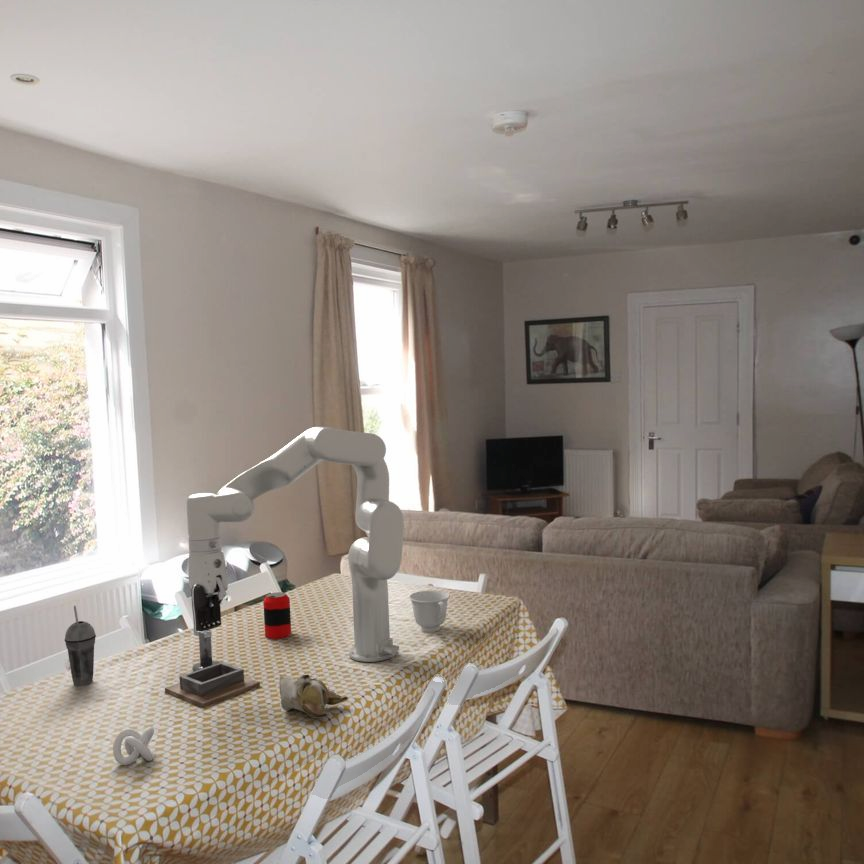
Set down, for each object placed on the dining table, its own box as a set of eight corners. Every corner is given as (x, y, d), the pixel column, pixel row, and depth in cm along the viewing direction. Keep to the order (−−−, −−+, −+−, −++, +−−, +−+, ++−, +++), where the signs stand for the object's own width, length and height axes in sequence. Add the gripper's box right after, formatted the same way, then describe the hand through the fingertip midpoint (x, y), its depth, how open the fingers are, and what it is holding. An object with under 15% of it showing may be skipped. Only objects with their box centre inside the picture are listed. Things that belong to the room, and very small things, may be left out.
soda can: (259, 637, 231) (257, 597, 230) (274, 630, 238) (272, 590, 237) (282, 640, 228) (280, 599, 227) (296, 632, 235) (294, 592, 234)
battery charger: (202, 633, 188) (199, 586, 187) (192, 631, 190) (189, 584, 189) (226, 625, 193) (223, 579, 193) (216, 623, 195) (213, 577, 195)
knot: (134, 748, 162) (132, 720, 162) (167, 752, 160) (166, 723, 160) (109, 765, 155) (107, 736, 155) (143, 769, 153) (142, 740, 152)
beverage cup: (105, 678, 202) (100, 601, 201) (84, 689, 195) (78, 609, 194) (82, 676, 204) (77, 599, 203) (60, 686, 198) (55, 607, 196)
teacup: (426, 641, 223) (424, 606, 222) (403, 627, 236) (402, 594, 235) (463, 633, 228) (462, 599, 228) (439, 620, 242) (438, 588, 241)
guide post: (226, 668, 207) (224, 630, 206) (202, 676, 201) (200, 637, 201) (210, 662, 211) (208, 625, 211) (187, 670, 206) (185, 632, 205)
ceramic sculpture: (292, 661, 185) (349, 672, 179) (292, 697, 185) (349, 709, 180) (266, 678, 175) (326, 690, 169) (266, 716, 176) (325, 729, 170)
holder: (259, 685, 193) (259, 669, 193) (203, 707, 181) (202, 690, 181) (221, 672, 204) (220, 656, 204) (165, 691, 192) (164, 675, 191)
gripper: (239, 546, 188) (242, 622, 189) (198, 538, 199) (202, 610, 200) (211, 551, 182) (215, 630, 183) (172, 544, 193) (176, 618, 194)
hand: (208, 619), depth 191 cm, fingers closed on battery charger, 3 cm apart
